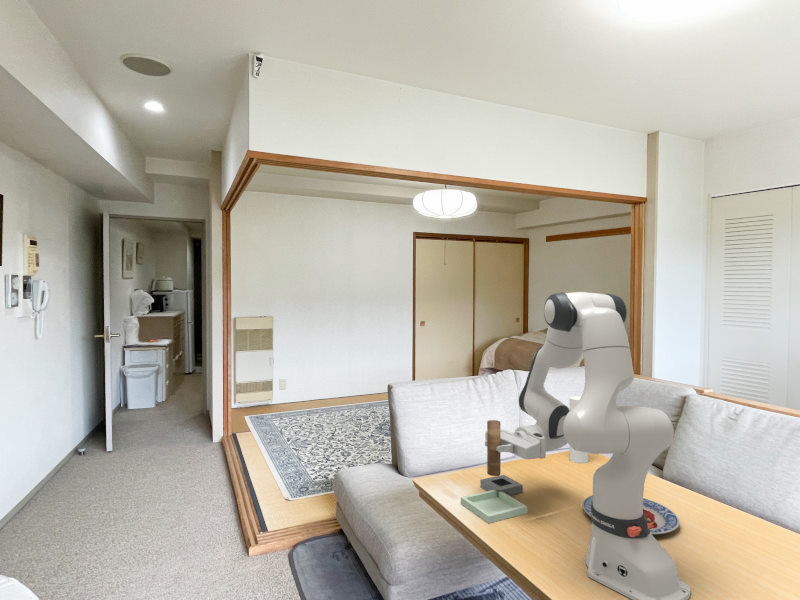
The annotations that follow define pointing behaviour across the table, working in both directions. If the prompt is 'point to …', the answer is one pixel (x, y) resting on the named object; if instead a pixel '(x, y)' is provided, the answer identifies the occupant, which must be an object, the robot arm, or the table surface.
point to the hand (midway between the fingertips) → (491, 446)
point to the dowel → (493, 447)
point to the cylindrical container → (574, 454)
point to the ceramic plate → (649, 515)
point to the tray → (493, 506)
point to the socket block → (501, 485)
